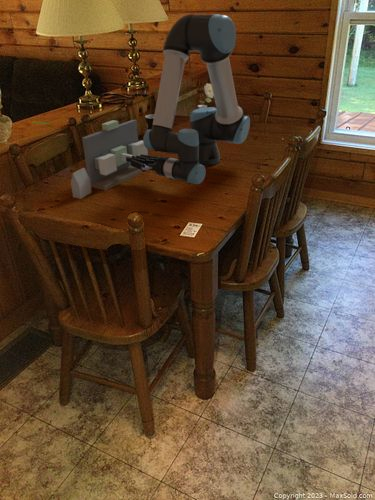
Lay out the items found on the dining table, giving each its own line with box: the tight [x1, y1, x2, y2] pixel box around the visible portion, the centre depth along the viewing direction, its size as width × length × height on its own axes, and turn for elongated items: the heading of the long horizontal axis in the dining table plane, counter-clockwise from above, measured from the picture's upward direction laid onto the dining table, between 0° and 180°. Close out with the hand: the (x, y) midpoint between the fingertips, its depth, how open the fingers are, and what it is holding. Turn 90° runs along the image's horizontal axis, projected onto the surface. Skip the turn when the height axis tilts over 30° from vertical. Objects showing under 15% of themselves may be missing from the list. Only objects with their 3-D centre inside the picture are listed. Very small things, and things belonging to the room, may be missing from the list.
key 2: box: [127, 140, 149, 156], centre depth 186 cm, size 8×6×6 cm
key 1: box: [93, 154, 117, 175], centre depth 173 cm, size 8×6×6 cm
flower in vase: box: [197, 82, 214, 109], centre depth 232 cm, size 13×11×25 cm
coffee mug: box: [144, 113, 155, 131], centre depth 233 cm, size 12×9×10 cm
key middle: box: [111, 146, 127, 166], centre depth 181 cm, size 8×6×6 cm
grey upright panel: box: [81, 119, 149, 191], centre depth 180 cm, size 16×30×22 cm, turn 145°
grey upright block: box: [70, 167, 92, 200], centre depth 166 cm, size 4×7×10 cm, turn 153°
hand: (122, 156), depth 179 cm, fingers closed
